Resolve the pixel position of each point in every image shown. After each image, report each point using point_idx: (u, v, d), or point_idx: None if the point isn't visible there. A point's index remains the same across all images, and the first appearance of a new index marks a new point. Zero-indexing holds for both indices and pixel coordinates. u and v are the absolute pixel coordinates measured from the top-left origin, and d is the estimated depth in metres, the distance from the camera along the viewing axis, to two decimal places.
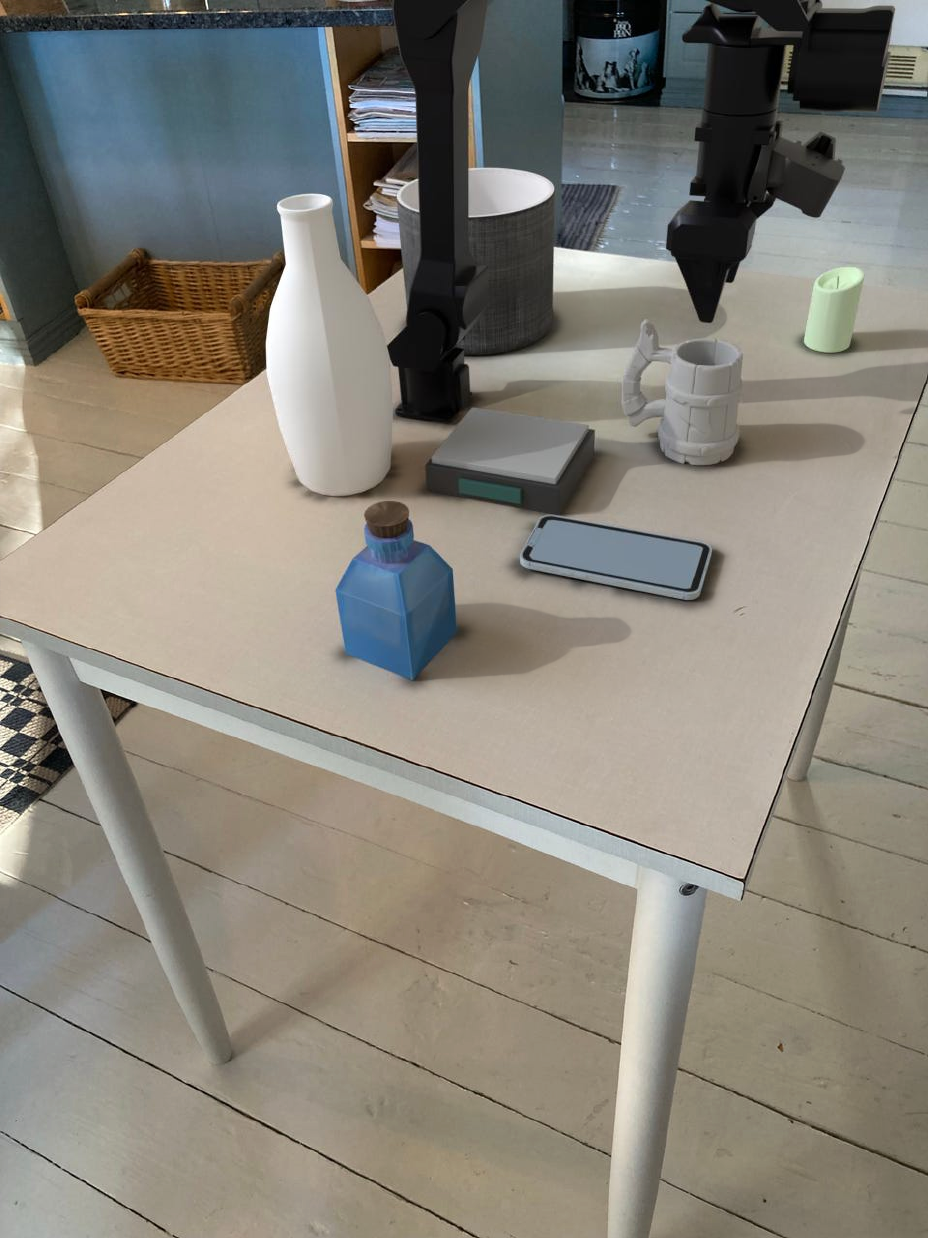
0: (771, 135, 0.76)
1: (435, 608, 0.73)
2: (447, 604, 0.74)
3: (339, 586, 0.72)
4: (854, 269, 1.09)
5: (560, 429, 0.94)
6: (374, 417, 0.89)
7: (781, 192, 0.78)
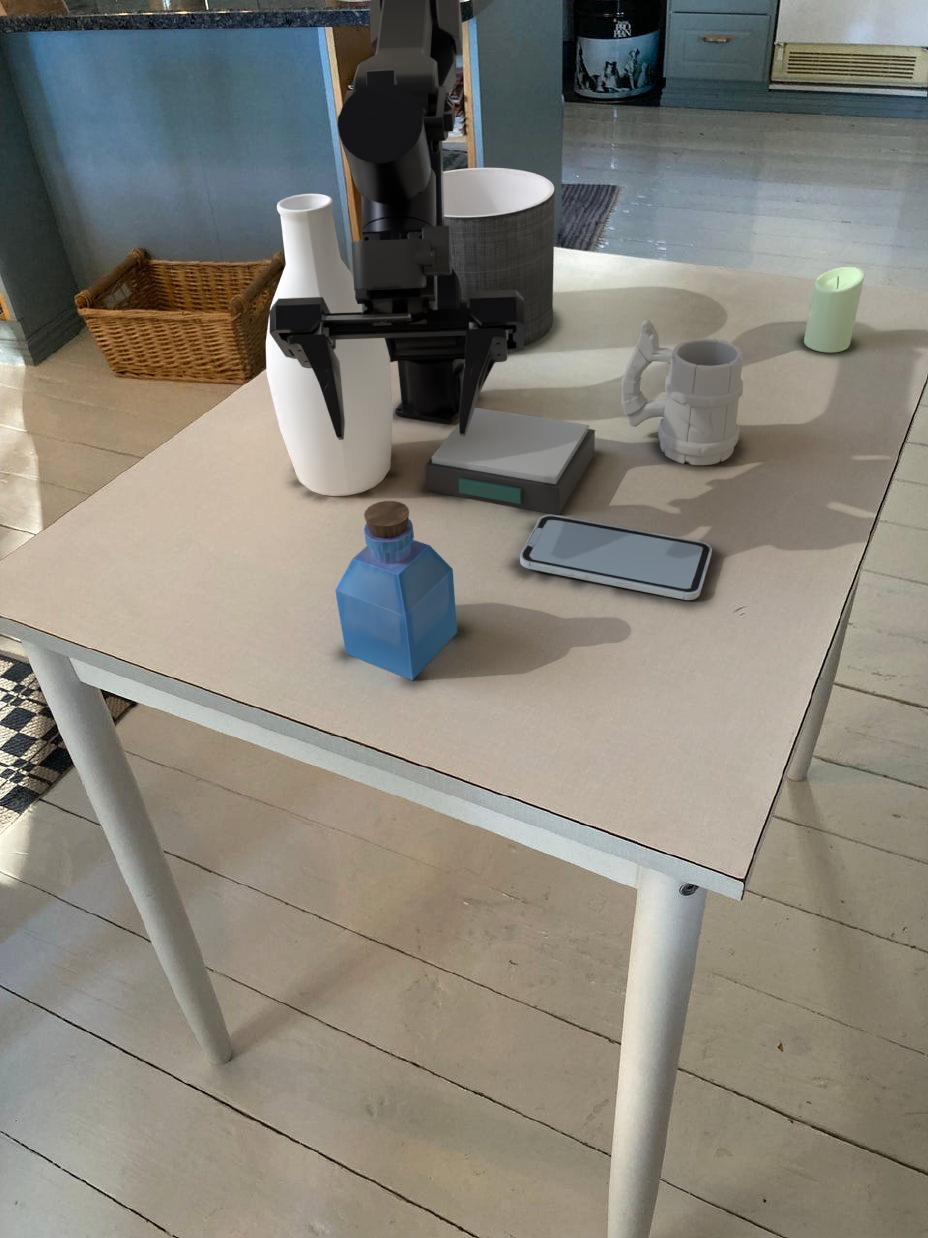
0: None
1: (435, 608, 0.73)
2: (447, 604, 0.74)
3: (339, 586, 0.72)
4: (854, 269, 1.09)
5: (560, 429, 0.94)
6: (374, 417, 0.89)
7: None
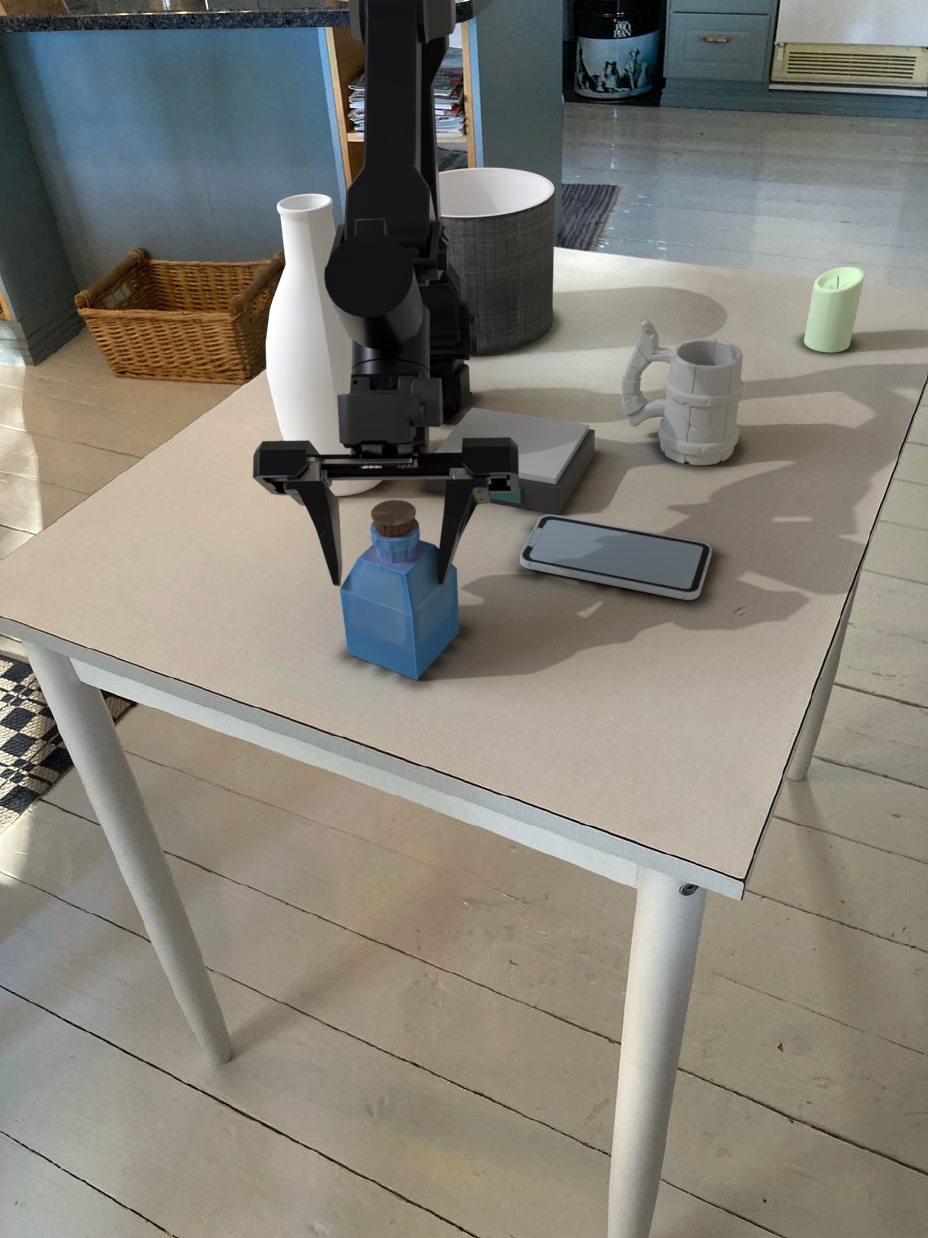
0: None
1: (440, 607, 0.73)
2: (450, 604, 0.74)
3: (344, 586, 0.72)
4: (854, 269, 1.09)
5: (560, 429, 0.94)
6: None
7: None
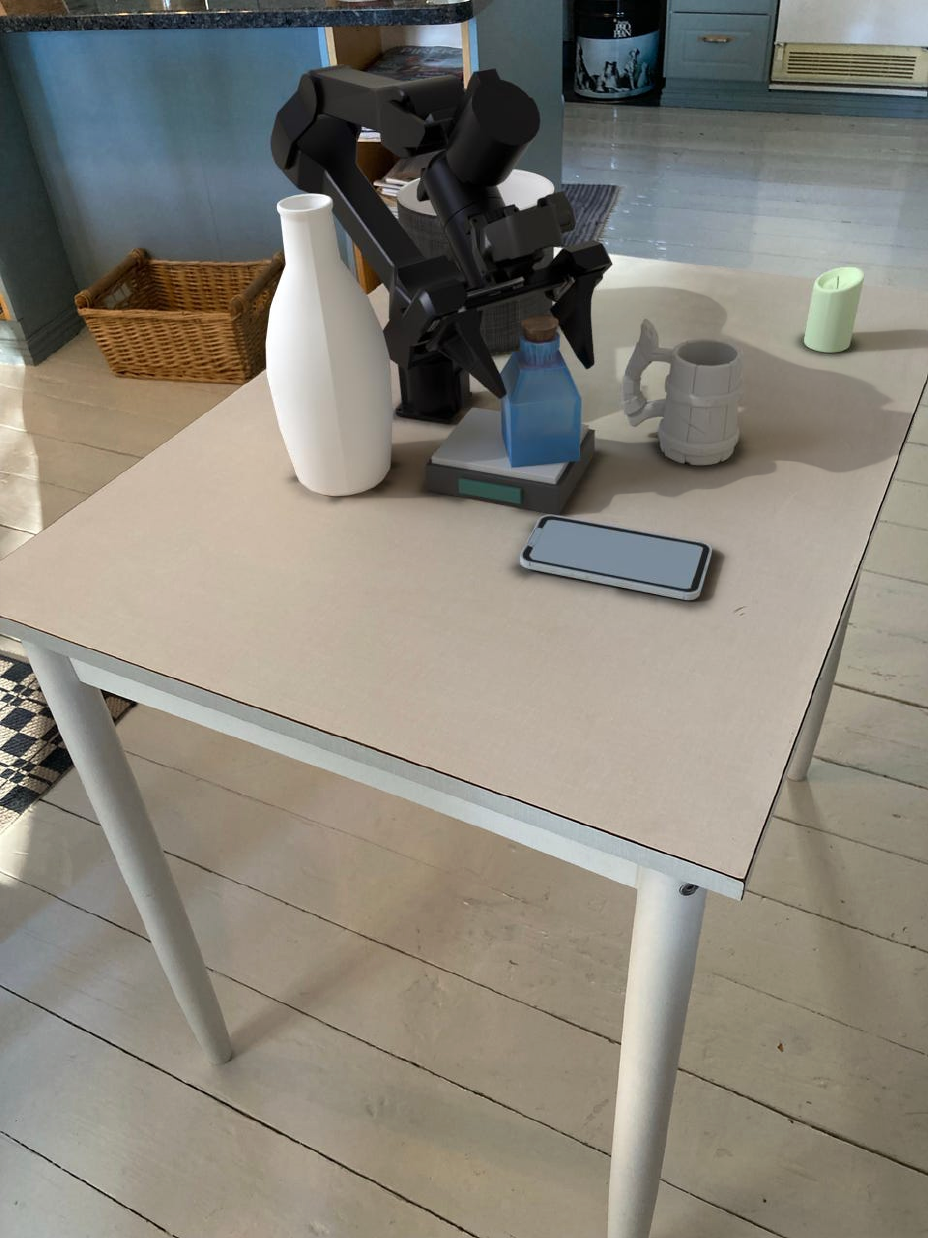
0: (470, 218, 0.82)
1: None
2: None
3: (513, 400, 0.85)
4: (854, 269, 1.09)
5: None
6: (374, 417, 0.89)
7: (494, 254, 0.81)
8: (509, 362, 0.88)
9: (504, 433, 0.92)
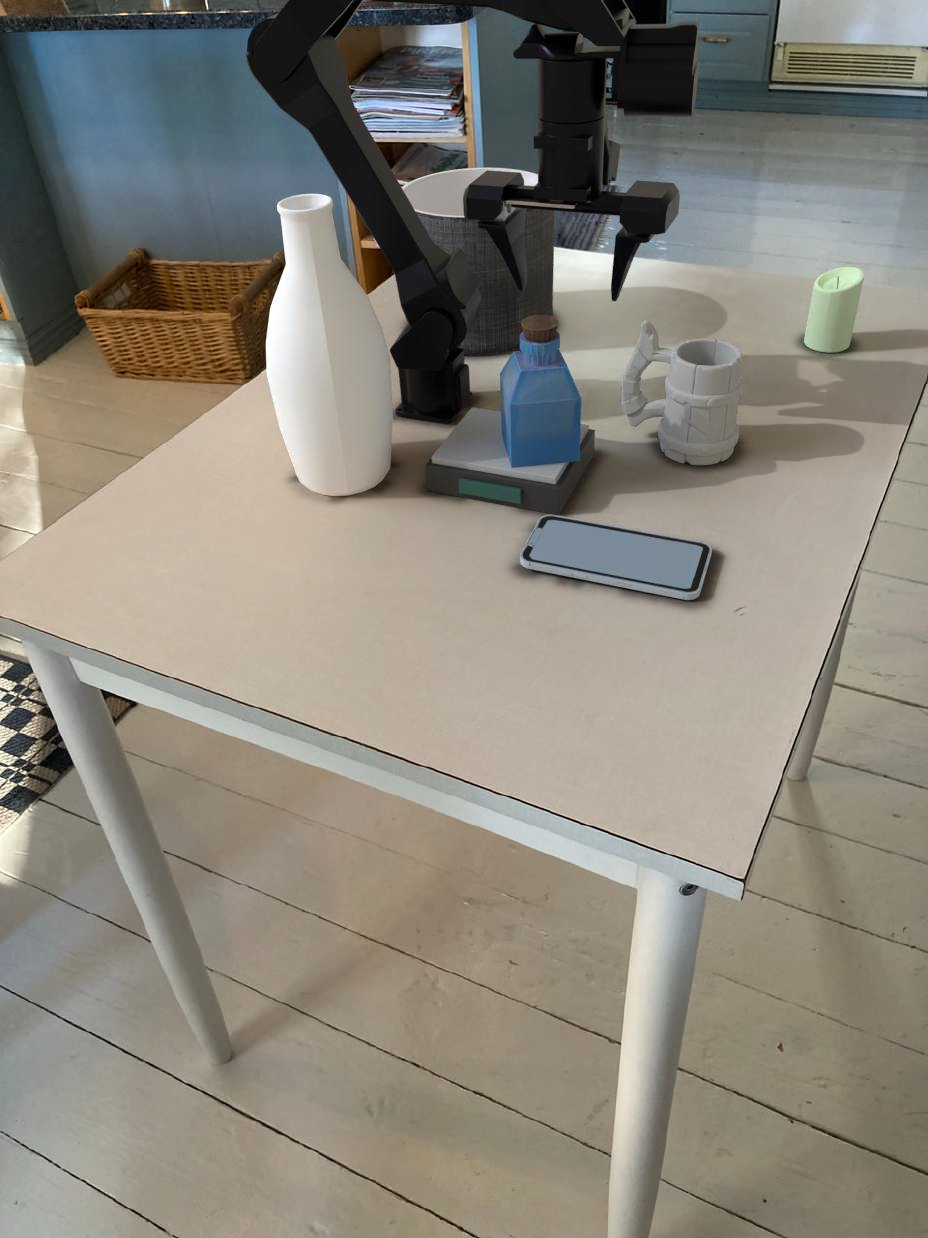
0: (605, 125, 0.87)
1: None
2: None
3: (513, 400, 0.85)
4: (854, 269, 1.09)
5: None
6: (374, 417, 0.89)
7: None
8: (509, 362, 0.88)
9: (504, 433, 0.92)
